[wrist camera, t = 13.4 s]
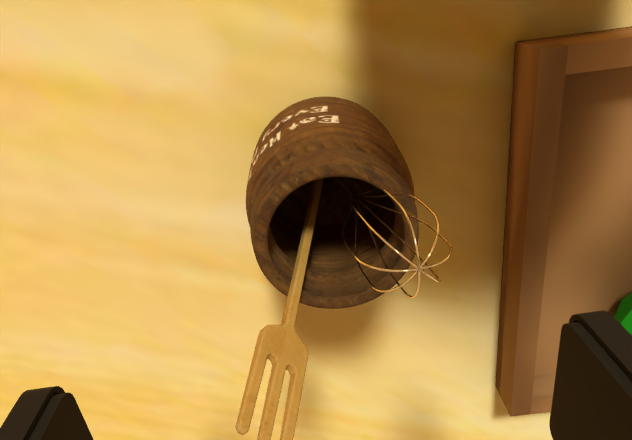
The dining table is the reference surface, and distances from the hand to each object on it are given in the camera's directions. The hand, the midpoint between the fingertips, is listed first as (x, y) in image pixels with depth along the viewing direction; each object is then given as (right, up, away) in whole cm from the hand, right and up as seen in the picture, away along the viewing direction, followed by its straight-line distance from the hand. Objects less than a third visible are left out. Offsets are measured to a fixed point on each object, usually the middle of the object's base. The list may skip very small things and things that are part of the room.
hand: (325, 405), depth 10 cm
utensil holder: (0, +6, +12) cm, 13 cm away
